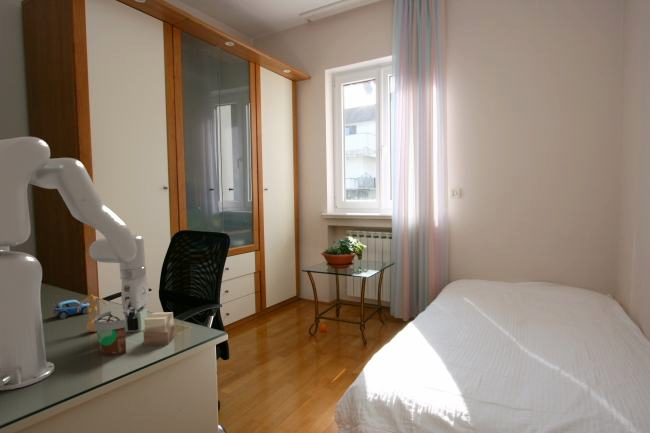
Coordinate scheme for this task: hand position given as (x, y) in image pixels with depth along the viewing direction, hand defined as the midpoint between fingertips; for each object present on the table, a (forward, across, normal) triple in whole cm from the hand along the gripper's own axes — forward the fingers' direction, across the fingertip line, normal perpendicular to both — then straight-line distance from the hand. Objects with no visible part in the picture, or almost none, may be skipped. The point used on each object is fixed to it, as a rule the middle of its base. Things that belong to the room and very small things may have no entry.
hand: (137, 326), depth 125 cm
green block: (+1, 0, 0) cm, 1 cm away
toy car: (+1, +18, +32) cm, 37 cm away
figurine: (+1, 0, +14) cm, 14 cm away
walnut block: (+1, -11, -12) cm, 16 cm away
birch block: (-3, -11, -12) cm, 17 cm away
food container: (+1, -18, 0) cm, 18 cm away
